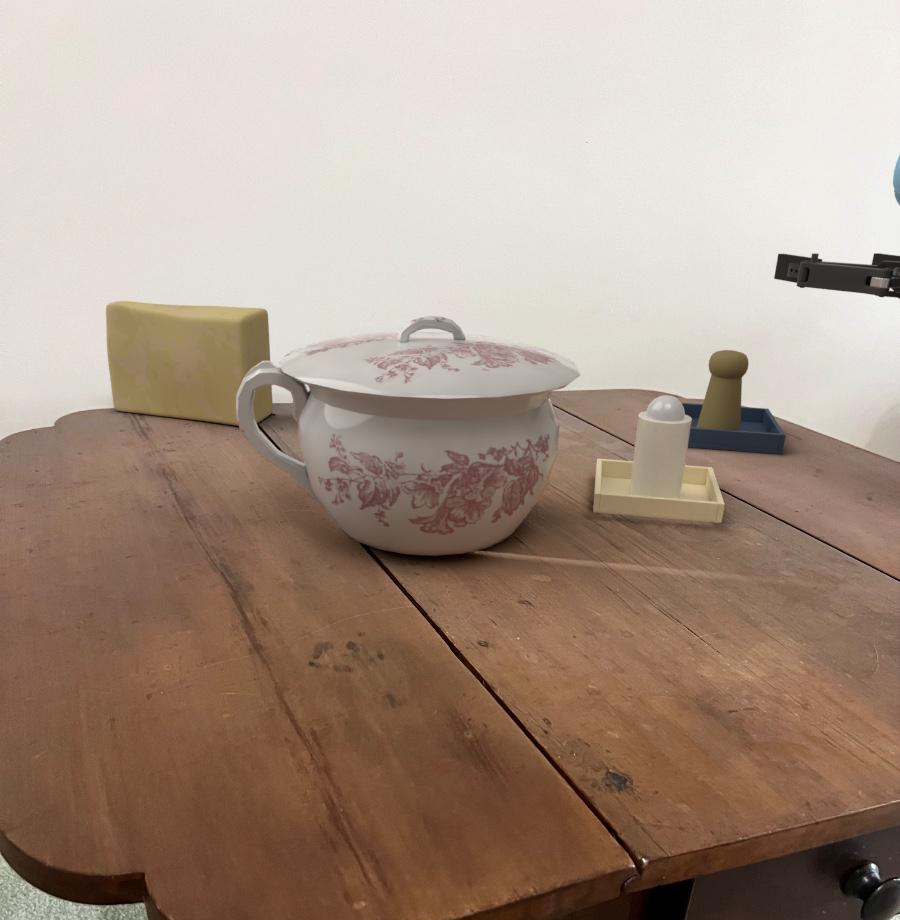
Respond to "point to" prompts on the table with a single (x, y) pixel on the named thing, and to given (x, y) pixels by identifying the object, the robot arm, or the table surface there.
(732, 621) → the table surface
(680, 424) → the salt shaker
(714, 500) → the light tray
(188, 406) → the cheese
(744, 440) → the dark tray
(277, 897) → the table surface
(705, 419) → the olive tapered knobbed cylinder
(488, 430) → the chamber pot
